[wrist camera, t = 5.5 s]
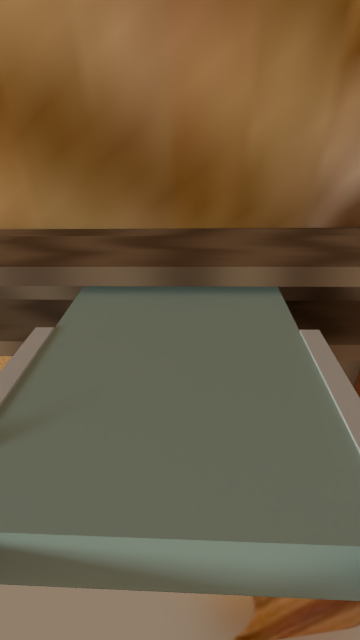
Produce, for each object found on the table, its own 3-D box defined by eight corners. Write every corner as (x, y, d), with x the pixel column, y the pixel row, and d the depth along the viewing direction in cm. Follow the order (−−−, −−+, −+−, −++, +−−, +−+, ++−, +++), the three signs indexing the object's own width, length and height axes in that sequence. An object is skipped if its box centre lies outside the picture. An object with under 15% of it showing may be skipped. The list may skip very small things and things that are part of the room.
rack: (39, 397, 29) (2, 462, 24) (-15, 229, 21) (-89, 266, 16) (336, 403, 28) (371, 472, 22) (392, 227, 20) (466, 266, 15)
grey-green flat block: (108, 294, 22) (-42, 582, 8) (102, 258, 21) (-86, 529, 7) (259, 294, 21) (371, 601, 8) (263, 258, 20) (407, 547, 6)
